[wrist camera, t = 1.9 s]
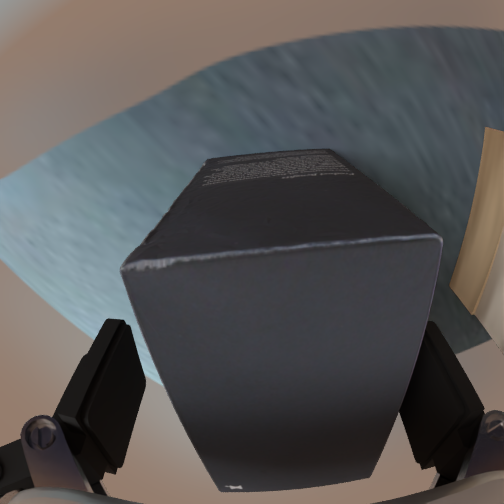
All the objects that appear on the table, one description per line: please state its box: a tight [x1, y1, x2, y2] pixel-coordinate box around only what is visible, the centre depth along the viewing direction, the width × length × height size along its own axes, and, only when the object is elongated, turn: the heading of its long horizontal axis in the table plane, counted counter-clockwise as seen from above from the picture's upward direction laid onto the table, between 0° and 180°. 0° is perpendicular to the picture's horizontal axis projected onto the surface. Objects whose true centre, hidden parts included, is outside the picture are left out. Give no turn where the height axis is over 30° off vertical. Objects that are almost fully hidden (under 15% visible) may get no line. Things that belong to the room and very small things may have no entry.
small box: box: [120, 149, 443, 492], centre depth 12 cm, size 11×6×10 cm, turn 6°
